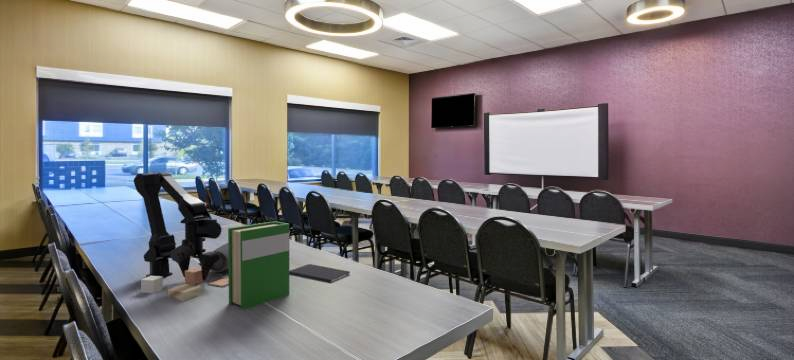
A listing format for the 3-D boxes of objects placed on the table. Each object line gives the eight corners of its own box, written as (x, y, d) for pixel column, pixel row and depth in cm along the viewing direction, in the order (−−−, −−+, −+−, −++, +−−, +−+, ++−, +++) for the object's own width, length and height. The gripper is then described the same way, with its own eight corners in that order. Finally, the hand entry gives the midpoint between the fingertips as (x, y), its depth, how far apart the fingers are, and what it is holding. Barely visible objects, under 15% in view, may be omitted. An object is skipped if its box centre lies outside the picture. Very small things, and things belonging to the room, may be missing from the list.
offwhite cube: (141, 292, 140) (141, 279, 140) (150, 288, 145) (150, 275, 144) (153, 293, 140) (153, 280, 139) (162, 289, 144) (162, 276, 144)
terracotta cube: (185, 283, 151) (184, 270, 151) (195, 279, 155) (195, 267, 155) (194, 284, 149) (194, 272, 149) (204, 281, 154) (204, 269, 153)
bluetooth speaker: (229, 275, 160) (228, 250, 160) (205, 275, 161) (204, 249, 160) (251, 260, 183) (250, 237, 182) (229, 260, 183) (229, 237, 183)
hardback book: (242, 309, 127) (242, 231, 125) (228, 304, 131) (228, 228, 130) (289, 294, 141) (289, 223, 139) (275, 289, 145) (275, 221, 144)
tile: (207, 284, 149) (207, 283, 149) (222, 279, 156) (222, 278, 156) (222, 287, 147) (222, 286, 147) (236, 281, 153) (236, 280, 153)
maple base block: (167, 298, 136) (167, 289, 136) (185, 292, 142) (185, 283, 142) (184, 301, 133) (184, 292, 133) (201, 295, 140) (201, 286, 140)
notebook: (287, 275, 165) (331, 284, 154) (287, 271, 165) (331, 279, 154) (309, 267, 176) (351, 275, 165) (309, 263, 176) (351, 271, 165)
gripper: (155, 237, 147) (156, 281, 148) (194, 243, 140) (195, 288, 141) (182, 232, 158) (183, 273, 159) (220, 236, 151) (220, 279, 152)
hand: (194, 278), depth 152 cm, fingers open, 9 cm apart
